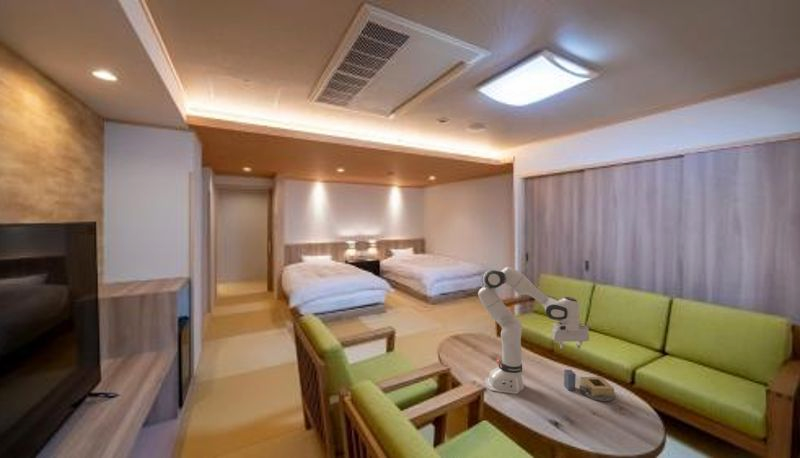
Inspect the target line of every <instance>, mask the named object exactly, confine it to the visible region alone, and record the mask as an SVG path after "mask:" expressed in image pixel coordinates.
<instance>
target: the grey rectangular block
mask: <svg viewBox="0 0 800 458" xmlns="http://www.w3.org/2000/svg"><path fill="white" fill-rule="evenodd" d="M563 373H564V375H563V386H564V388H565V389H566V390H567V391H568V392H569V391H570V392H575V391H576V378H577V377H576V373H575V372H574V371H573V370H572V369H564V371H563Z"/></svg>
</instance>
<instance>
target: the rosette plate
mask: <svg viewBox="0 0 800 458" xmlns="http://www.w3.org/2000/svg"><path fill="white" fill-rule="evenodd" d="M579 391H580V393H581V394H582V395H583V396H585V397H586V398H589V399H590V400H593V401H597V402H600V403H602V402H603V403H610V402H613V401H614V400H615V396H616V395H615V388H614V387H613V386H612V385H611V384H610V383H608V382H607V381H606V380H605V379H604V378H603V377H602V376H580V385H579Z"/></svg>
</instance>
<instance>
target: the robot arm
mask: <svg viewBox="0 0 800 458" xmlns="http://www.w3.org/2000/svg"><path fill="white" fill-rule="evenodd" d="M481 281H482V282H481V283H482V286H481V288H479V290H478V292H477V295H478V298H479V300H480V302H481V305H482V306H483V307H484V309H485V311H486V312H487V313H488V315H489V316H490V318H491V319H492V320H493V321H494V322H496V323H497V324H498V326H499V327H501V331H500V343H501V360H500V359H496V363H497V365H498V366H497V367H495V368H494V369H492V370H490V372H489V376H487V377H486V378H485V379H484V381H485V385H486V387H487V389H489V390H490V391H492V392H497V393H506V394H512V395H513V394H515V395H517V394H519V393H520V392H521V391H524V389H525V384H524V382H523V375H522V373H523V363H522V343H521V342H522V340H521V339H522V333H523V326H522V322H521V320H520V319H518V318H517V317H516V316H515V315H514V314H513V313H512V312H511V311H510V310H509V309H508V308H507V306H506V305H505V304H504V302H503V299H501V297H500V296H499V295H498V294H497V293H498V292H497V291H496V289H497V288H499V287H501V286H503V285H506V286H507V287H509V288H510V289H511V290H513V291H514V292H515V293H517V294H519V295H520V296H524V295H525V296H529V297H531V298H533V299H534V300H536V301H537V303H540V305H541V306H542V307H543V309H544V311H545V314H546V316H547V317H548V318H549V319H551V320H554V321H555V320H556V321H555V322H553V327H552V329H551V339H552V341H554V342H558V344H559V348H560V349H565V345H564V344H562V343H563V342H578V343H577V344H576V345H575V347H576V348H577V349H581V346H582V345H583V342H589V341H590V333H589V332H590V331H589V329H590V328H589V326H588V325H587V324H580V317H579V316H580V303H579V301H578V300H577V299H576V298H573V297H570V296H564V297H563V298H561V299H558V298H556V297H553V296H549V295H547V294H546V293H545V292H543V291H542V290H540V289H539V288H537V287H536V286H535V285H534V284H533V282H531V280H530V279H528V278H527V276H525V275H524V274H522V273H521V272H520V271H518V270H516V269H515V268H513V267H511V266H505V267H504V268H503V269H501V270H500V271H499V270H496V269H495V270H494V269H489V270H486V271H485V272H484V273H483V274H482V276H481ZM558 320H559V321H558Z"/></svg>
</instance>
